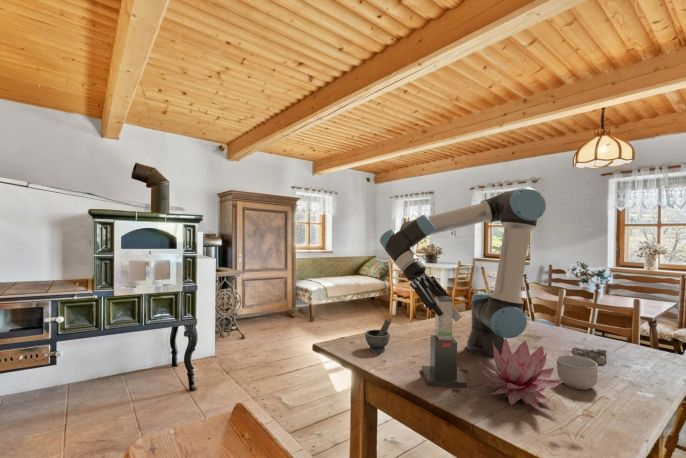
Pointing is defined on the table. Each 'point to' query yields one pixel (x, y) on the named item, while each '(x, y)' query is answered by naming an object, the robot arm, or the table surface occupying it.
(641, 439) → the table surface
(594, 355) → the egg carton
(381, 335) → the mortar and pestle
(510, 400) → the decorative flower
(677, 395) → the table surface
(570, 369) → the teacup
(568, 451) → the table surface
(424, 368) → the sleeve
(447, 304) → the steel post
